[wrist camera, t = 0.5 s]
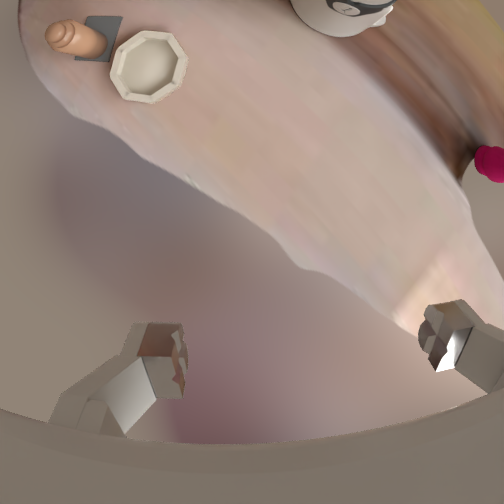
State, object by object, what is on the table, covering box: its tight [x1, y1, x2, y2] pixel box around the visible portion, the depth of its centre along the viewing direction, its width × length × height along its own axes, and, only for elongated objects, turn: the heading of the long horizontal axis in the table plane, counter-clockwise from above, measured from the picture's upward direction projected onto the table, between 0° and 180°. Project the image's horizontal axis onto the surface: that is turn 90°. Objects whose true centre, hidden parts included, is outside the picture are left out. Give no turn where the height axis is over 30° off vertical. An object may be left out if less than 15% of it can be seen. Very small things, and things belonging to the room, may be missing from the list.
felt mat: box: [75, 16, 123, 62], centre depth 38 cm, size 8×7×1 cm
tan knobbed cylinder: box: [45, 20, 108, 59], centre depth 33 cm, size 5×5×14 cm
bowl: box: [110, 30, 189, 104], centre depth 41 cm, size 12×12×3 cm
